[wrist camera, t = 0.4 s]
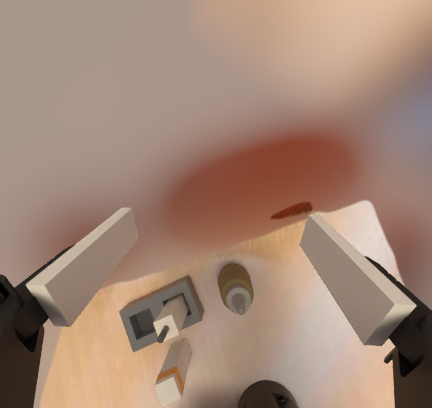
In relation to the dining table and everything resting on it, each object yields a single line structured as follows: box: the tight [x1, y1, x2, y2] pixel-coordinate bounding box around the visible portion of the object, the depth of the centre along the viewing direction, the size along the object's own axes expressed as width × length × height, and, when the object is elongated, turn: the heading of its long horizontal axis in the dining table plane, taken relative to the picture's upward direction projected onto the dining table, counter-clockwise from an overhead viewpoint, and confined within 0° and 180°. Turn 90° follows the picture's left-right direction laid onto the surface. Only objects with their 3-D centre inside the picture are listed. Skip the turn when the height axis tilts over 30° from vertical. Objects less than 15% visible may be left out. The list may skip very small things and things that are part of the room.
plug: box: [155, 338, 191, 407], centre depth 37 cm, size 4×4×11 cm
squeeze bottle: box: [218, 264, 253, 315], centre depth 35 cm, size 8×8×18 cm
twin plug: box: [153, 292, 189, 343], centre depth 36 cm, size 4×4×14 cm
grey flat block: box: [119, 276, 204, 352], centre depth 42 cm, size 10×18×4 cm, turn 114°
